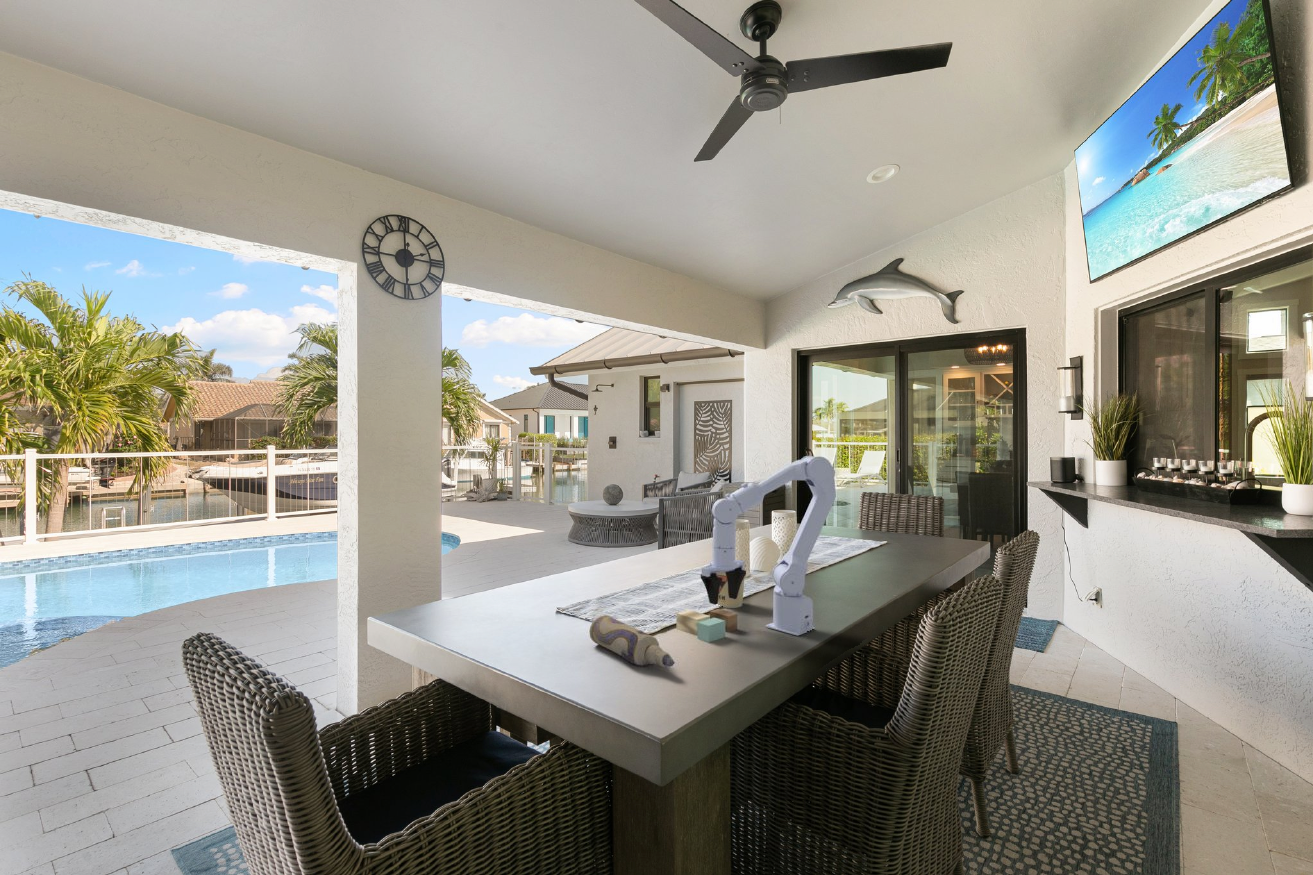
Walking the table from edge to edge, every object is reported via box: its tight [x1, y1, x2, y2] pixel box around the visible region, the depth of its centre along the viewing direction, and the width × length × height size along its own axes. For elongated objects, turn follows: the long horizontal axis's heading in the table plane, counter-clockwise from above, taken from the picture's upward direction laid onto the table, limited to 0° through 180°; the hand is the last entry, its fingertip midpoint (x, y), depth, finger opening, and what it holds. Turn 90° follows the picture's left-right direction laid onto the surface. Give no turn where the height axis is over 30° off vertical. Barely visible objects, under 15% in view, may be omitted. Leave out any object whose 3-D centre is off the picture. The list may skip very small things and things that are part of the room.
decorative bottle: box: [589, 614, 676, 668], centre depth 128 cm, size 26×8×7 cm, turn 38°
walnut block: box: [709, 608, 738, 633], centre depth 150 cm, size 6×4×4 cm, turn 44°
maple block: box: [675, 609, 710, 636], centre depth 148 cm, size 7×4×4 cm, turn 43°
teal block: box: [697, 618, 726, 643], centre depth 143 cm, size 6×4×4 cm, turn 133°
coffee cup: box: [716, 559, 747, 609], centre depth 172 cm, size 9×9×12 cm
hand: (723, 600), depth 150 cm, fingers open, 7 cm apart
